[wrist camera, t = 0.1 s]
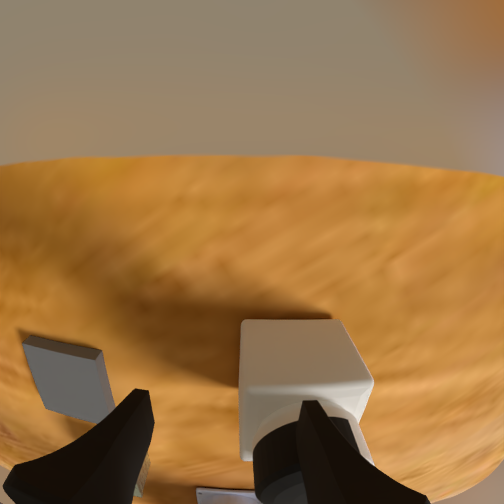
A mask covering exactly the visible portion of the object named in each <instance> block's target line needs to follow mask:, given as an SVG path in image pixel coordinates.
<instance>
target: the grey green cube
mask: <svg viewBox="0 0 504 504" xmlns="http://www.w3.org/2000/svg"><path fill="white" fill-rule="evenodd" d="M149 467H150V459H149V456H148V452H147V454H146V457H145V459H144V462H143V465H142V468H141V471H140V474H139V476H138V479H137V483H136V486H135V490H134V495H133V496H137V497H143V488H144V484H145V481H146V477H147V474H148V470H149Z"/></svg>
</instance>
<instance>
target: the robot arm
mask: <svg viewBox="0 0 504 504" xmlns="http://www.w3.org/2000/svg"><path fill="white" fill-rule="evenodd" d="M154 423H155V422H154V417H153V412H152V406H151V401H150V395H149V391H148V390H142V389H134V390H133V391H132V392H131V393H130V394H129V395H128V396H127V397H126V398H125V399H124V400H123V401H122V402H121V403H120V404H119V405H118V406H117V407H116V408H115V409H114V410H113V411H112V412H111V413H109V414H108V415H107V416H106V417H105V418H104V419H103V420H102V421H101V422H99V423H98V424H97V425H96V426H94V427H93V428H92V429H91V430H90V431H88V432H87V433H85V434H84V435H83V436H81V437H80V438H78V439H77V440H75V441H74V442H72V443H70V444H68V445H67V446H65V447H63V448H61V449H59V450H57V451H55V452H53V453H51V454H48V455H46V456H43V457H40V458H38V459H35V460H32V461H28V462H24V463H21V464H16V465H15V466H14V467H13V469H12V470H11V472H10V473H9V475H8V477H7V479H6V480H5V482H4V484H3V489H4V491H5V492H6V493H7V495H8V496H9V497H10V498H11V499H12V500H13V501H14V502H15V504H132V500H133V495H134V490H135V486H136V483H137V479H138V476H139V474H140V471H141V468H142V465H143V462H144V459H145V457H146V454H147V451H148V448H149V445H150V442H151V438H152V433H153V428H154ZM296 444H297V453H298V458H299V463H300V467H301V472H302V477H303V481H304V486H305V490H306V496H307V503H308V504H431V503H430V501H429V500H428V498H427V496H426V495H423V494H421V493H419V492H417V491H414V490H412V489H410V488H408V487H406V486H404V485H402V484H400V483H398V482H397V481H395V480H393V479H392V478H390V477H389V476H387V475H386V474H384V473H383V472H381V471H380V470H379V469H377V468H376V467H375V466H373V465H372V464H371V463H370V462H369V461H368V460H366V459H365V458H364V457H363V456H362V455H361V454H360V453H359V452H358V451H357V450H356V449H355V448H354V447H353V446H352V445H351V444H350V443H349V442H348V440H347V439H346V438H345V437H344V436H343V435H342V433H341V432H340V431H339V430H338V428H337V427H336V426H335V425H334V423H333V422H332V420H331V419H330V418H329V416H328V415H327V413H326V412H325V410H324V409H323V407H322V406H321V404H320V403H319V402H318V401H317V400H303V401H302V405H301V410H300V414H299V419H298V423H297V427H296ZM196 495H197V501H198V504H263V503H261V502H260V501H259V500H258V499H257V498H256V495H255V491H244V490H223V489H210V488H196ZM0 504H2V503H1V502H0Z"/></svg>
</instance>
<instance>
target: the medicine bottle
mask: <svg viewBox="0 0 504 504" xmlns="http://www.w3.org/2000/svg"><path fill="white" fill-rule="evenodd" d="M373 385H374V379H373V378H372V376H371V374H370V372H369V370H368V368H367V366H366V365H365V363H364V361H363V359H362V357H361V355H360V354H359V352H358V350H357V348H356V346H355V345H354V343H353V341H352V339H351V337H350V336H349V334H348V332H347V330H346V328H345V327H344V325H343V323H342V322H341V321H340V320H339V319H319V320H265V319H245V320H243V321H242V323H241V338H240V363H239V390H238V395H239V442H240V458H241V459H242V460H243V461H253V471H254V487H255V495H256V498H257V499H258V500H259V501H260V502H261V503H263V504H308V503H307V496H306V490H305V486H304V481H303V477H302V472H301V467H300V463H299V458H298V453H297V444H296V427H297V423H298V419H299V414H300V410H301V405H302V401H303V400H317V401H318V402H319V403H320V404H321V406H322V407H323V409H324V410H325V412H326V413H327V415H328V416H329V418H330V419H331V420H332V422H333V423H334V425H335V426H336V427H337V428H338V430H339V431H340V432H341V433H342V435H343V436H344V437H345V438H346V439H347V440H348V442H349V443H350V444H351V445H352V446H353V447H354V448H355V449H356V450H357V451H358V452H359V453H360V454H361V455H362V456H363V457H364V458H365V459H366V460H368V461H369V462H370V463H371V464H372V465H373V466H375V465H374V462H373V460H372V457H371V454H370V452H369V449H368V447H367V444H366V442H365V439H364V437H363V434H362V431H361V429H360V426H359V421H360V419H361V417H362V414H363V412H364V409H365V407H366V404H367V401H368V399H369V396H370V394H371V391H372V388H373Z"/></svg>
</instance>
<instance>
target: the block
mask: <svg viewBox="0 0 504 504" xmlns="http://www.w3.org/2000/svg"><path fill="white" fill-rule="evenodd" d="M22 345H23V348H24V351H25V355H26V358H27V361H28V364H29V367H30V370H31V373H32V375H33V378H34V381H35V383H36V386H37V389H38V391H39V394H40V396H41V399H42V401H43V404H44V406H45V408H46V409H48V410H51V411H54V412H57V413H61V414H64V415H67V416H71V417H74V418H77V419H81V420H85V421H88V422H92V423H96V424H98V423H99V422H101V421H102V420H103V419H104V418H105V417H106V416H107V415H108V414H109V413H111V412H112V411H113V410H114V409H115V408H116V407H115V404H114V400H113V396H112V392H111V388H110V384H109V380H108V376H107V371H106V367H105V362H104V357H103V352H102V350H97V349H92V348H86V347H81V346H76V345H71V344H66V343H62V342H57V341H53V340H48V339H44V338H40V337H36V336H32V335H30V336H29V337H28V338H27V339H26V340H25V341H24V342H23V343H22Z"/></svg>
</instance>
